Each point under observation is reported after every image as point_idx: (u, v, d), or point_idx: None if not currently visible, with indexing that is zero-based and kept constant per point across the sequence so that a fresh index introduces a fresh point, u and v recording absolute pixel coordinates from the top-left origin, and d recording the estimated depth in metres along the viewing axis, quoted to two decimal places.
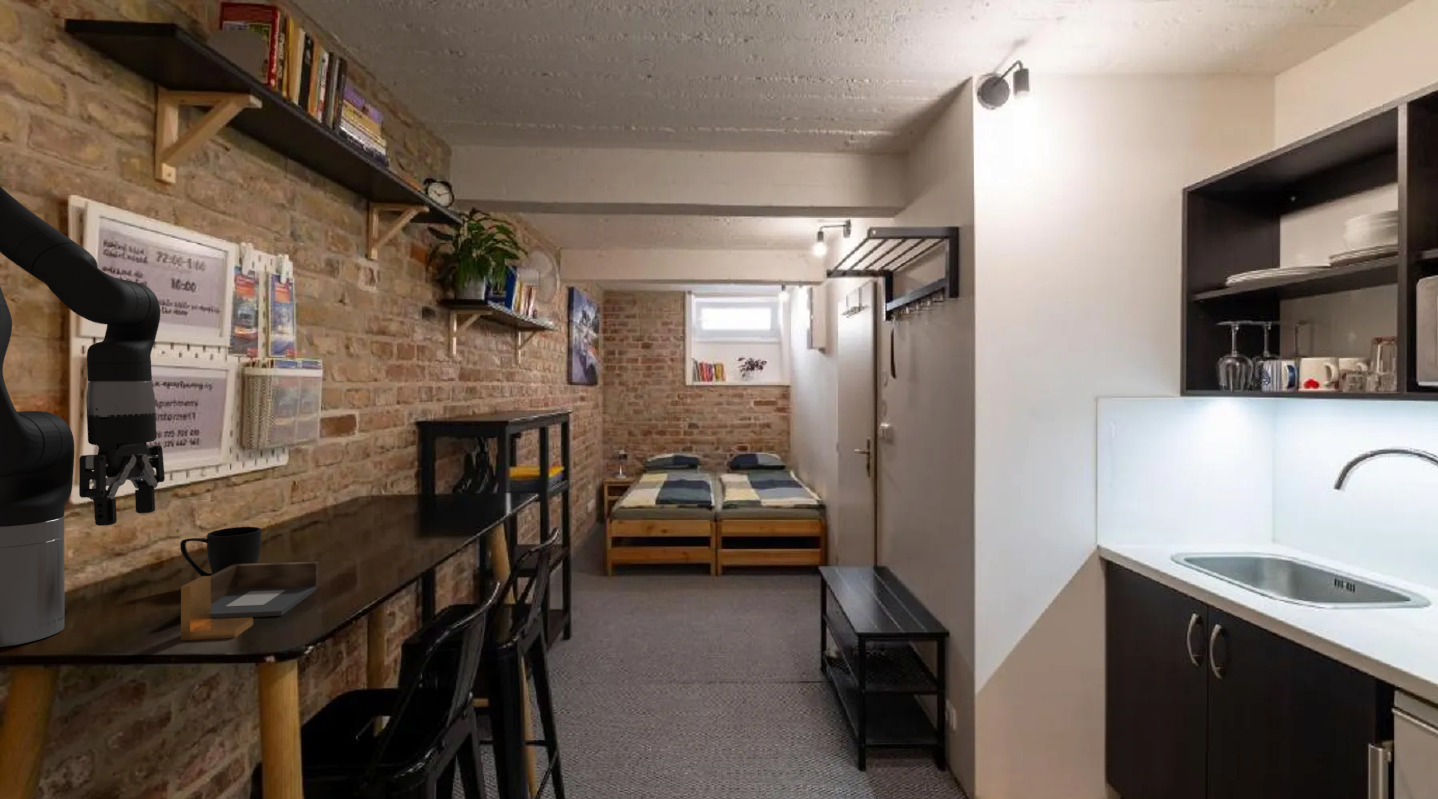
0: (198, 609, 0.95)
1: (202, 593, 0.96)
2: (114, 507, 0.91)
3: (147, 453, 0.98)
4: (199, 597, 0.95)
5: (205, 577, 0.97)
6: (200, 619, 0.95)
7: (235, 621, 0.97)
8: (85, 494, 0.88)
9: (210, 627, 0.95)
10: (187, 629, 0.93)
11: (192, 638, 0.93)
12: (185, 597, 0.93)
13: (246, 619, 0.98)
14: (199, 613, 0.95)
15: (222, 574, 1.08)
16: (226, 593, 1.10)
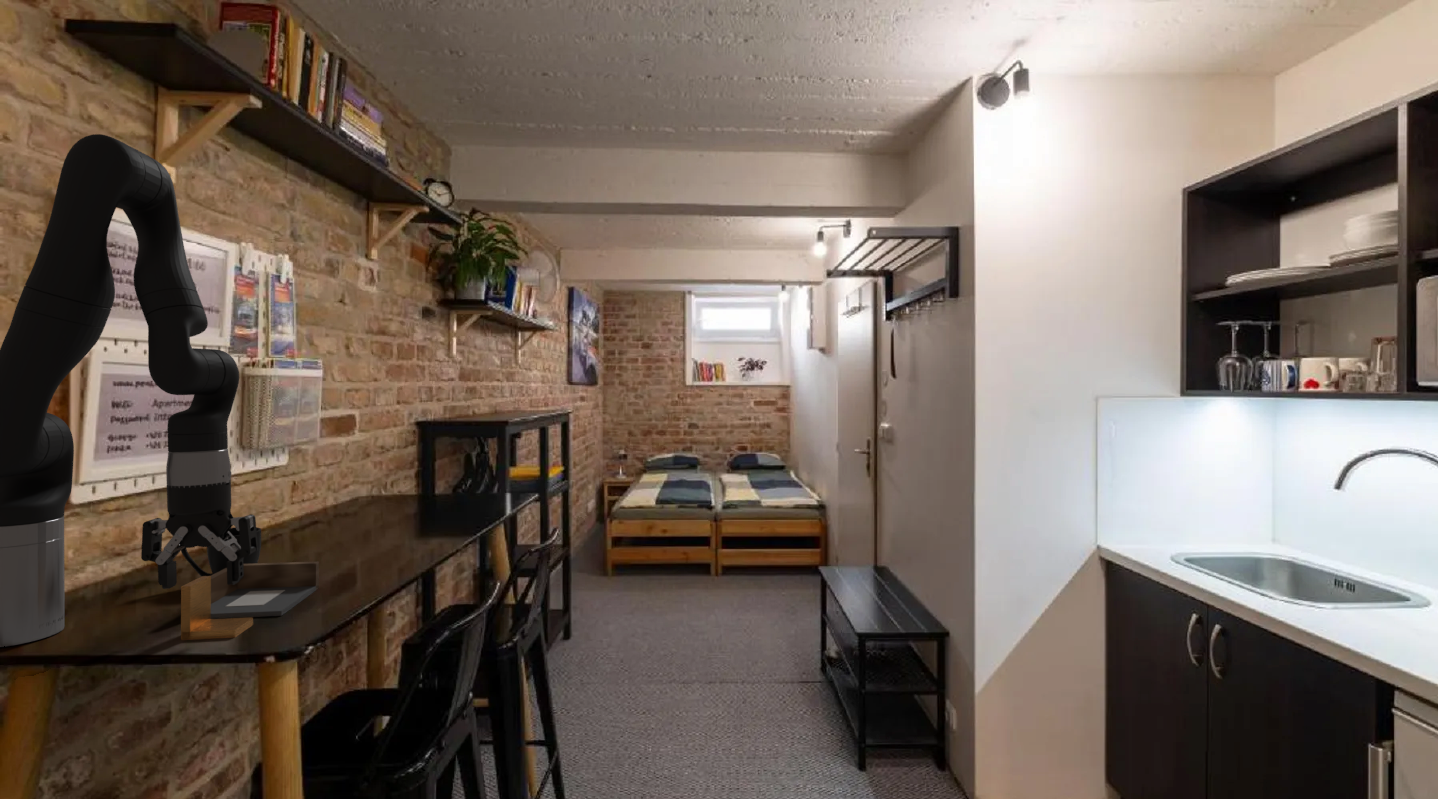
0: (198, 609, 0.95)
1: (202, 593, 0.96)
2: None
3: None
4: (199, 597, 0.95)
5: (205, 577, 0.97)
6: (200, 619, 0.95)
7: (235, 621, 0.97)
8: (251, 551, 0.97)
9: (210, 627, 0.95)
10: (187, 629, 0.93)
11: (192, 638, 0.93)
12: (185, 597, 0.93)
13: (246, 619, 0.98)
14: (199, 613, 0.95)
15: (222, 574, 1.08)
16: (226, 593, 1.10)
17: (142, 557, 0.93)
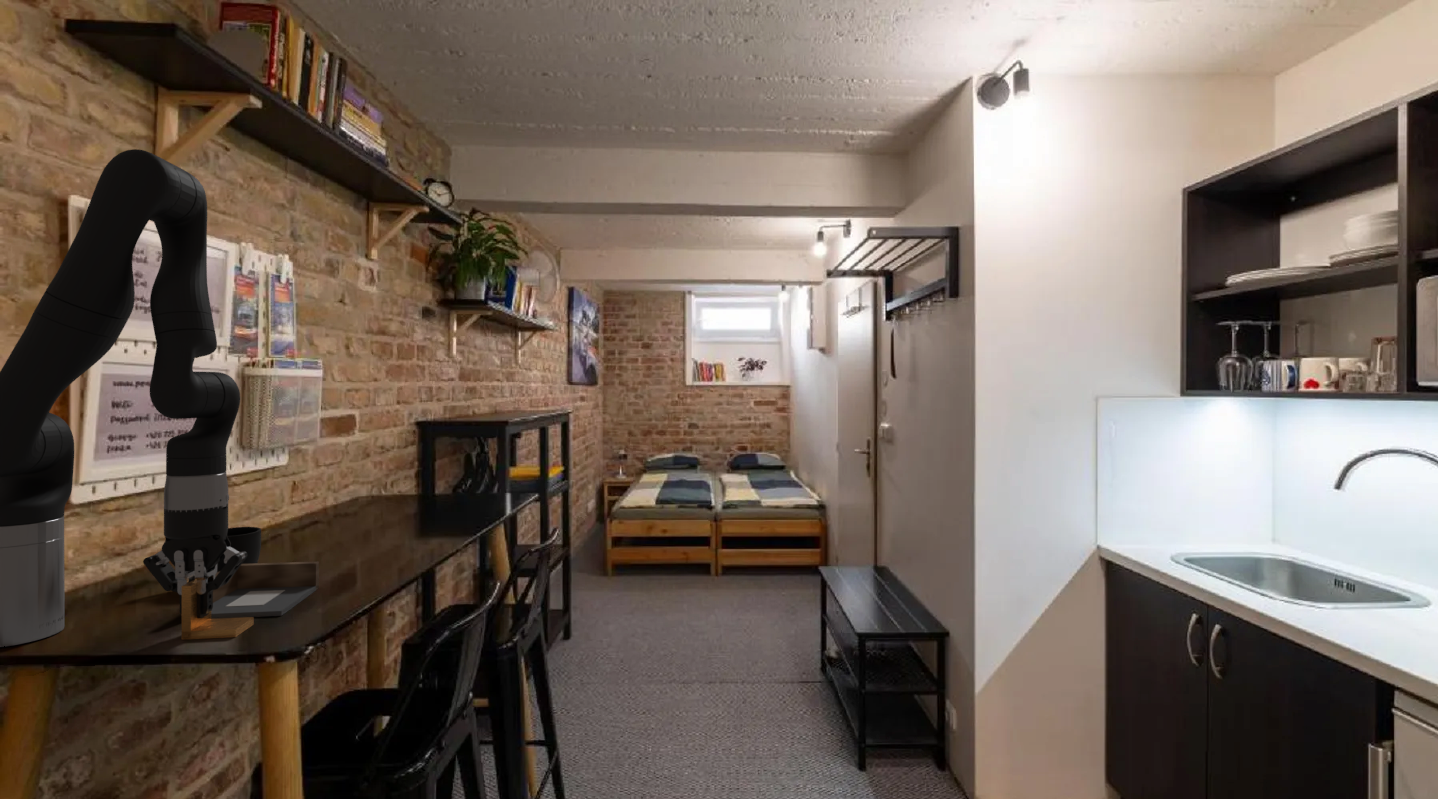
0: None
1: None
2: None
3: None
4: None
5: None
6: (201, 619, 0.95)
7: (236, 621, 0.97)
8: (219, 586, 0.95)
9: (210, 627, 0.95)
10: (188, 629, 0.93)
11: (193, 638, 0.93)
12: (186, 597, 0.93)
13: (247, 619, 0.98)
14: None
15: None
16: (226, 593, 1.10)
17: (165, 589, 0.93)
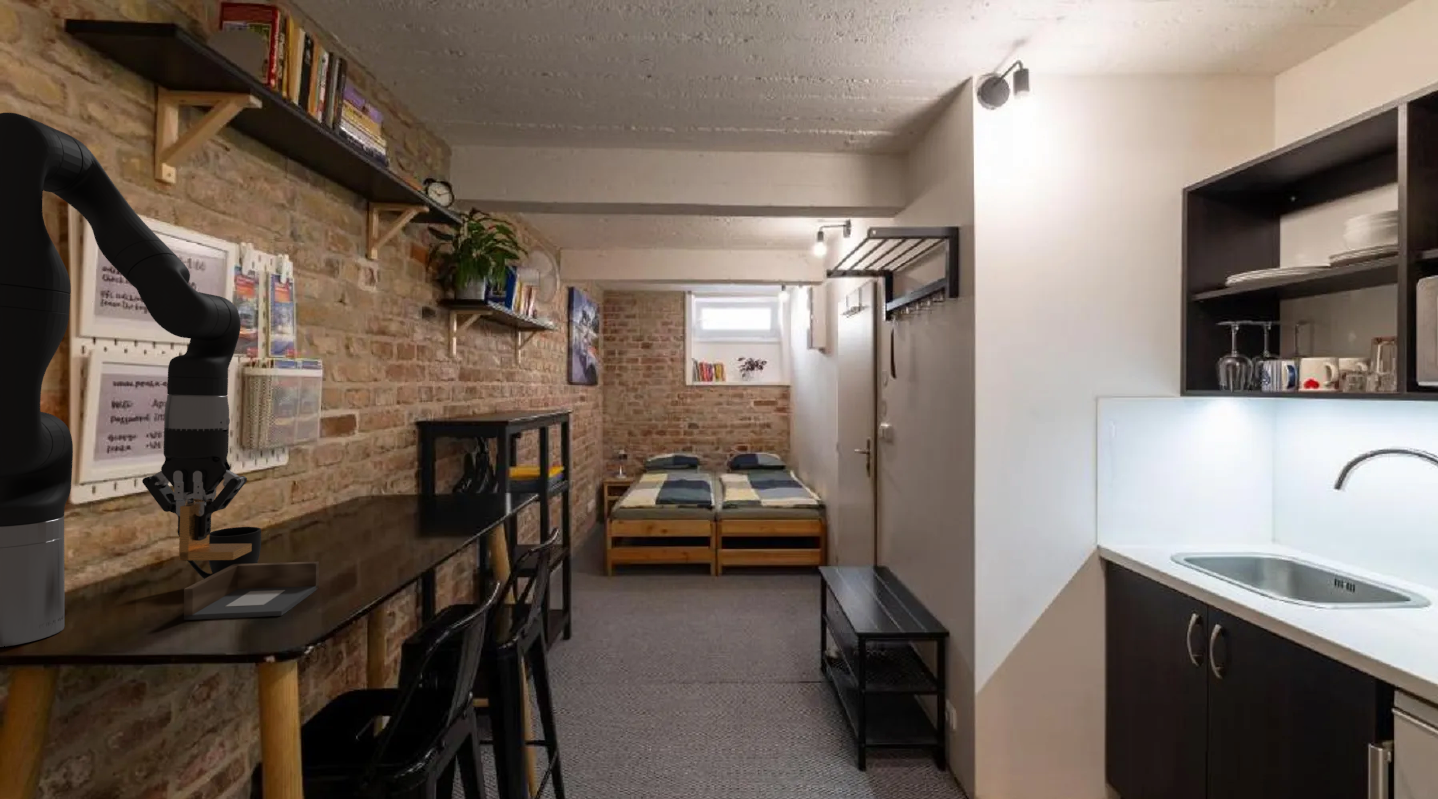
0: None
1: None
2: None
3: None
4: None
5: None
6: (199, 542, 0.95)
7: (234, 546, 0.97)
8: (218, 509, 0.95)
9: (208, 549, 0.94)
10: (185, 549, 0.93)
11: (190, 559, 0.93)
12: (184, 517, 0.92)
13: (245, 544, 0.98)
14: None
15: (222, 574, 1.08)
16: (226, 593, 1.10)
17: (164, 509, 0.93)
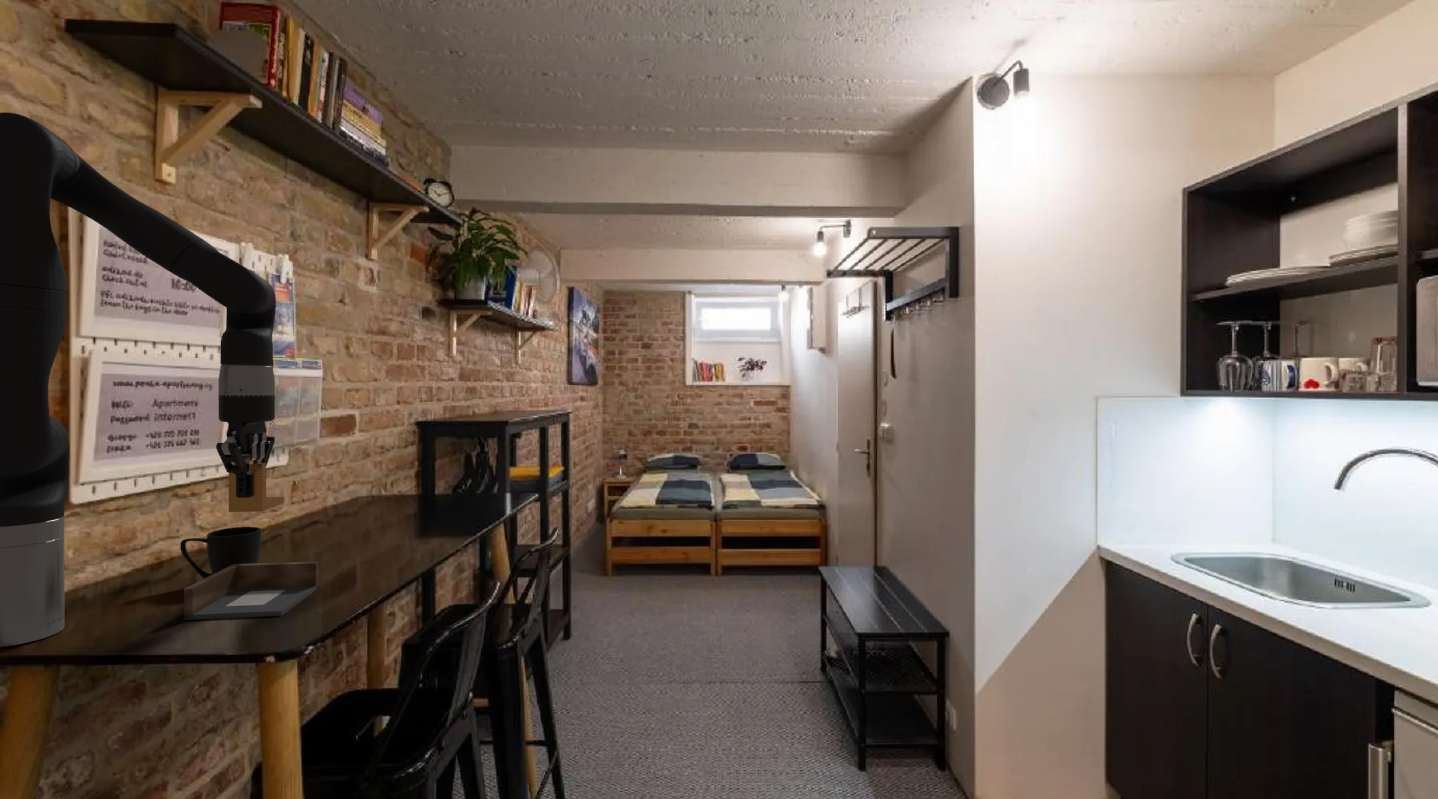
0: None
1: None
2: None
3: None
4: None
5: None
6: None
7: None
8: None
9: None
10: (264, 501, 1.06)
11: (267, 508, 1.06)
12: (264, 473, 1.05)
13: None
14: None
15: (222, 574, 1.08)
16: (226, 593, 1.10)
17: (243, 470, 1.02)
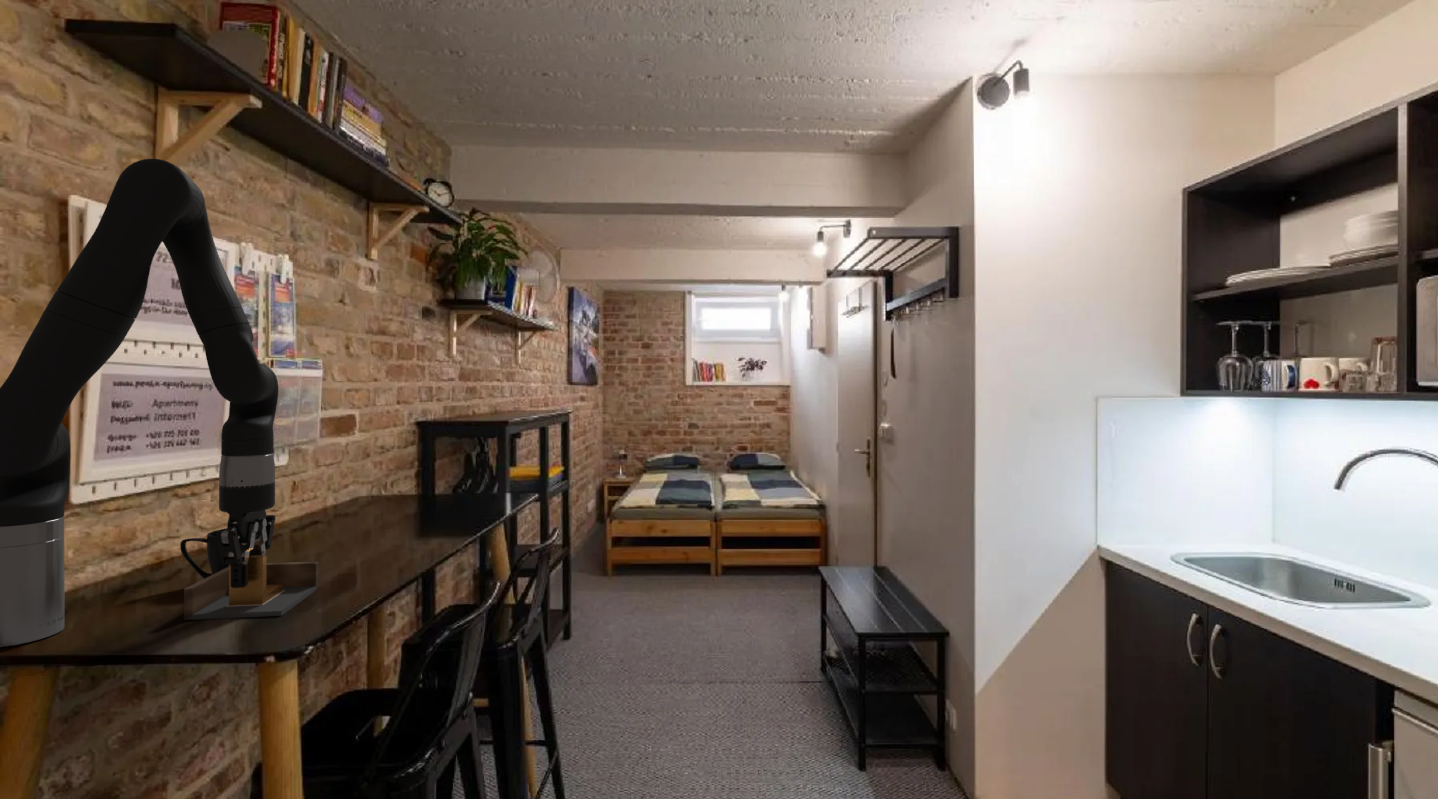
0: None
1: None
2: None
3: None
4: None
5: None
6: None
7: None
8: None
9: None
10: (265, 593, 1.06)
11: (267, 600, 1.07)
12: (264, 565, 1.06)
13: None
14: None
15: (222, 574, 1.08)
16: (226, 593, 1.10)
17: (238, 561, 1.01)
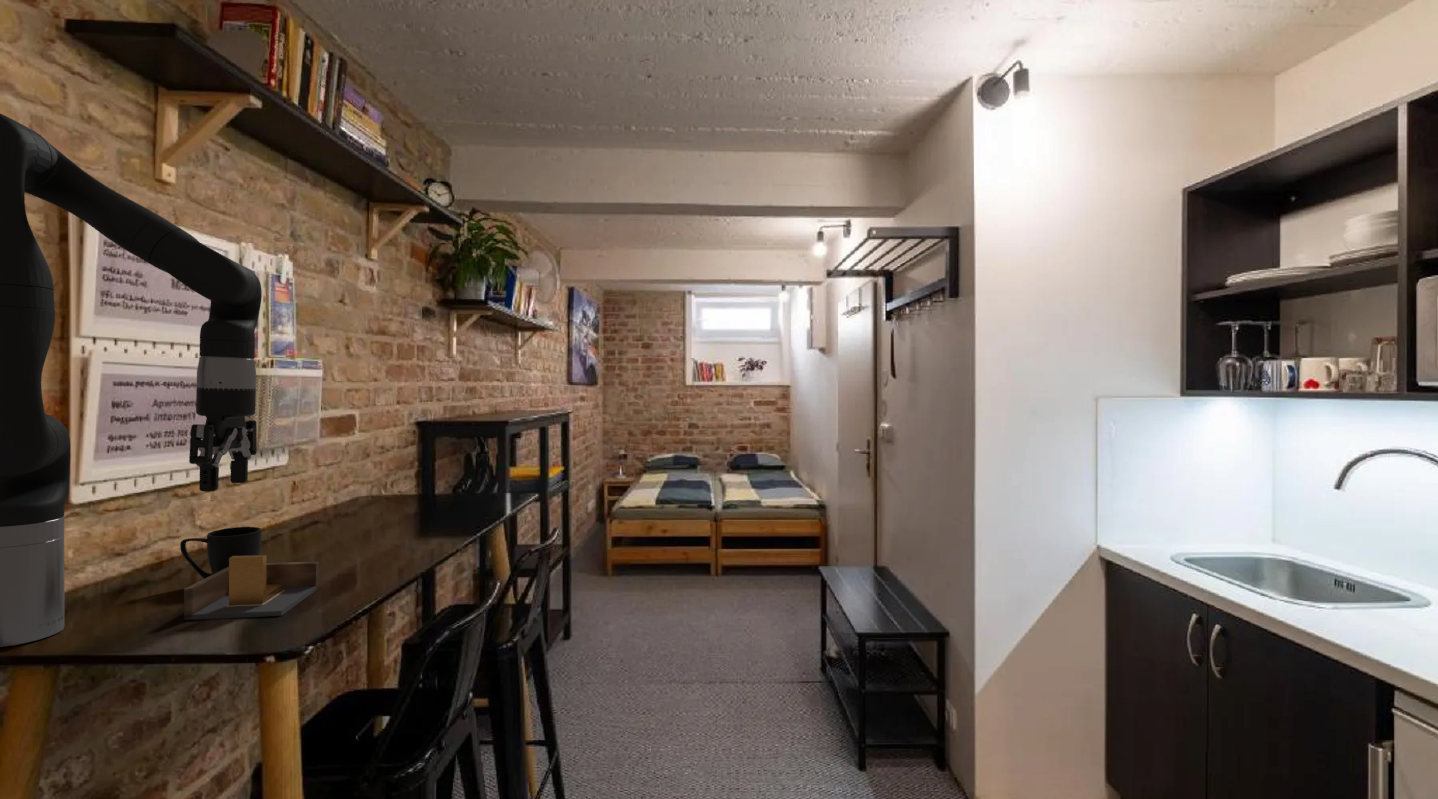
0: None
1: None
2: None
3: None
4: None
5: (236, 556, 1.05)
6: None
7: None
8: None
9: None
10: (265, 593, 1.06)
11: (267, 600, 1.07)
12: (264, 565, 1.06)
13: None
14: None
15: (222, 574, 1.08)
16: (226, 593, 1.10)
17: (208, 460, 0.94)
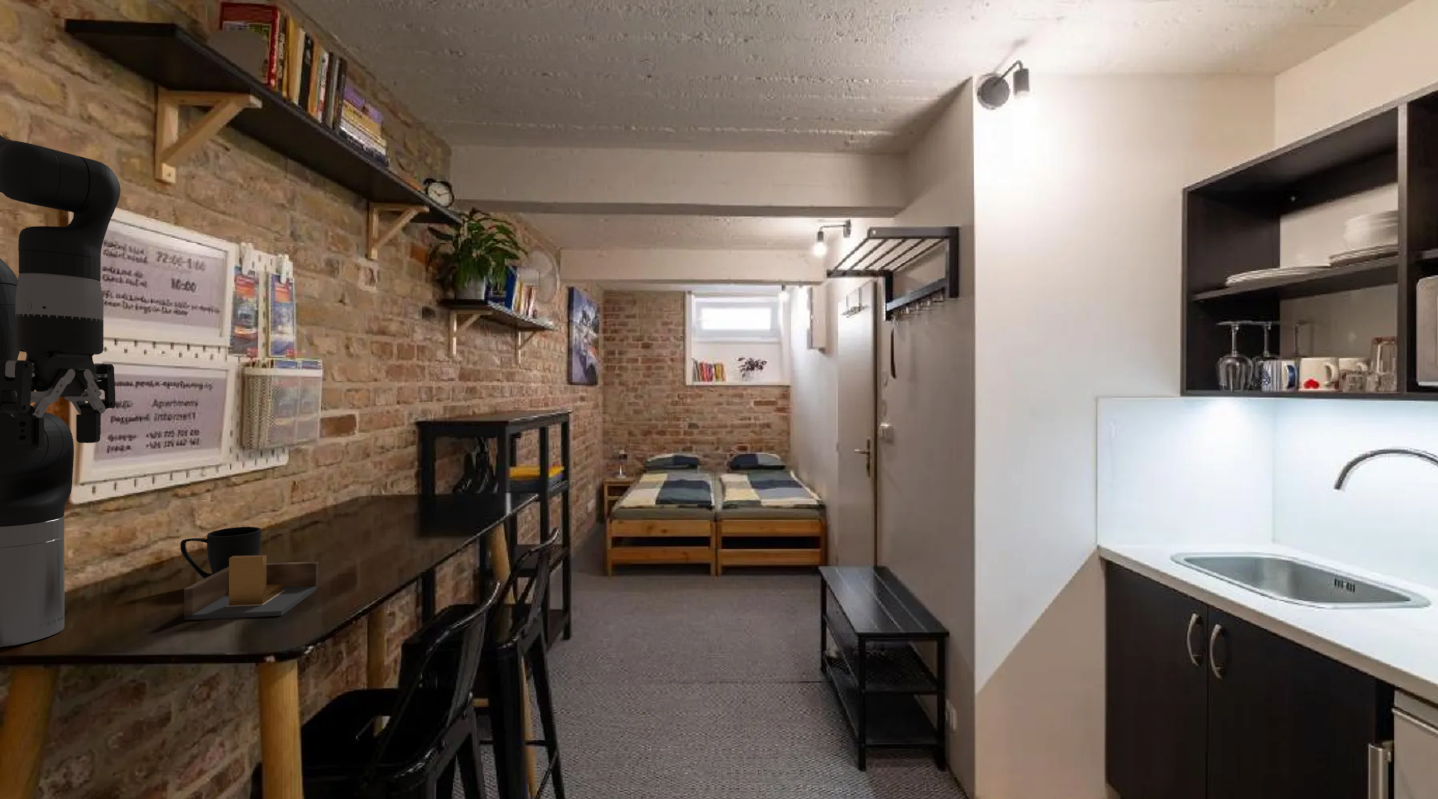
0: None
1: None
2: None
3: None
4: None
5: (236, 556, 1.05)
6: None
7: None
8: None
9: None
10: (265, 593, 1.06)
11: (267, 600, 1.07)
12: (264, 565, 1.06)
13: None
14: None
15: (222, 574, 1.08)
16: (226, 593, 1.10)
17: (22, 407, 0.71)
